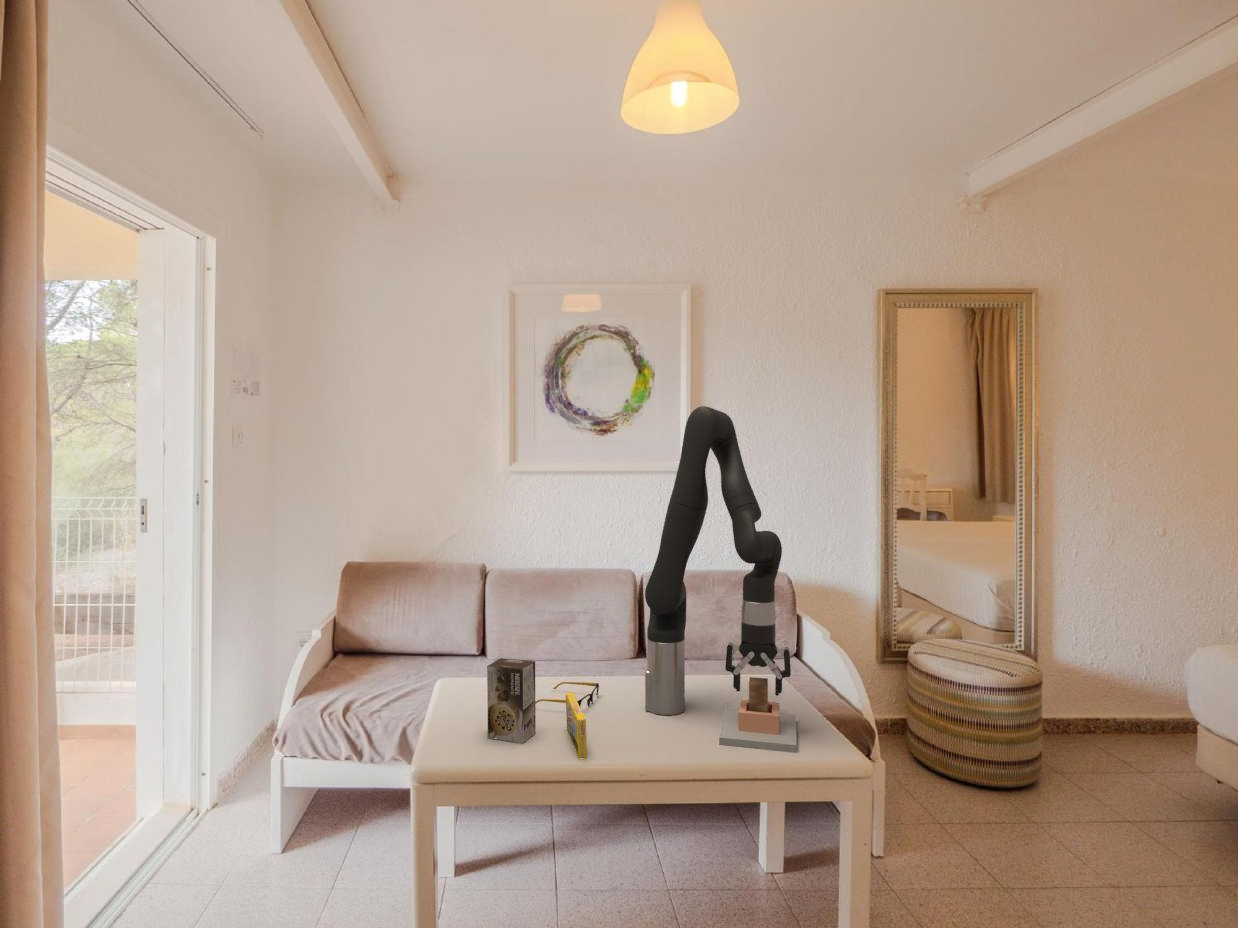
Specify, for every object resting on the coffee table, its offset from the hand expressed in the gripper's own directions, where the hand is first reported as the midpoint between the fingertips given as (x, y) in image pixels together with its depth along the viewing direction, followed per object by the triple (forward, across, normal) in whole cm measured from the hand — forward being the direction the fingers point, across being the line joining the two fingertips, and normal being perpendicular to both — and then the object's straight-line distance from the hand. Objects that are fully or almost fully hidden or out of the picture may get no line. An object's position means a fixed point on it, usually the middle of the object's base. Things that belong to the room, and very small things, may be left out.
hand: (757, 692), depth 146 cm
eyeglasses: (+10, -48, +7) cm, 50 cm away
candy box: (+10, -37, -16) cm, 42 cm away
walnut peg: (+7, 0, 0) cm, 7 cm away
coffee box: (+10, -52, -16) cm, 56 cm away
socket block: (+9, 0, 0) cm, 9 cm away
